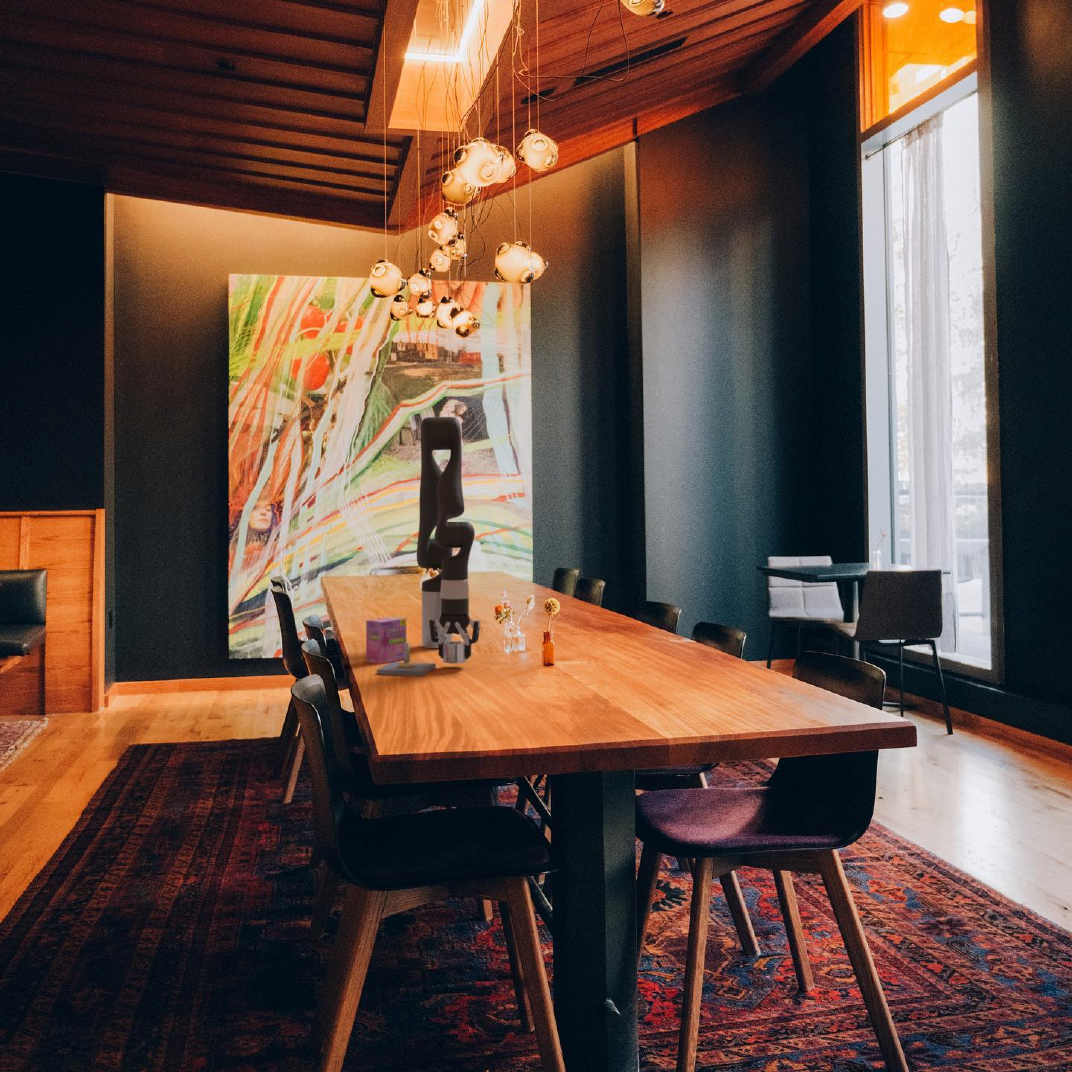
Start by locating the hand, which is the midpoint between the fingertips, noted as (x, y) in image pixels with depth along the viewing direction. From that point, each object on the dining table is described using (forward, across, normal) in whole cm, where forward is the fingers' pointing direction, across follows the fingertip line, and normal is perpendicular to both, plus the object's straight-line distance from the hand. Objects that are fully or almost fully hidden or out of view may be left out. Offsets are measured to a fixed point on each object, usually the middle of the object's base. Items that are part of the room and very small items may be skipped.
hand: (454, 658), depth 249 cm
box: (+3, +22, -7) cm, 23 cm away
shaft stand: (+3, +11, +7) cm, 13 cm away
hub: (+1, 0, 0) cm, 1 cm away
